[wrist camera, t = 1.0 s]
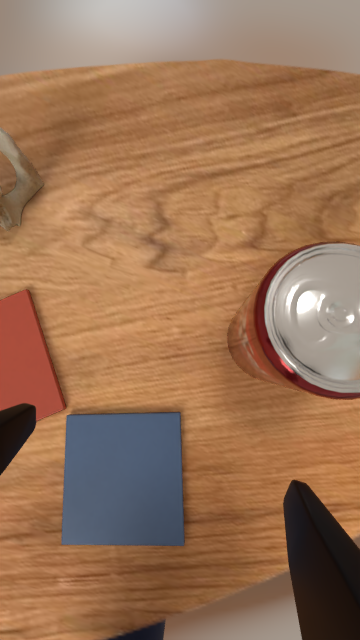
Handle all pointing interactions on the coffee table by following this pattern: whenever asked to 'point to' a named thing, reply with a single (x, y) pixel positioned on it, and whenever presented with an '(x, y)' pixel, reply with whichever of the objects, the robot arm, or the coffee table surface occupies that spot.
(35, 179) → the bone
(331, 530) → the robot arm
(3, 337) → the terracotta mat
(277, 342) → the soda can
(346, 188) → the coffee table surface
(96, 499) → the slate-blue mat
